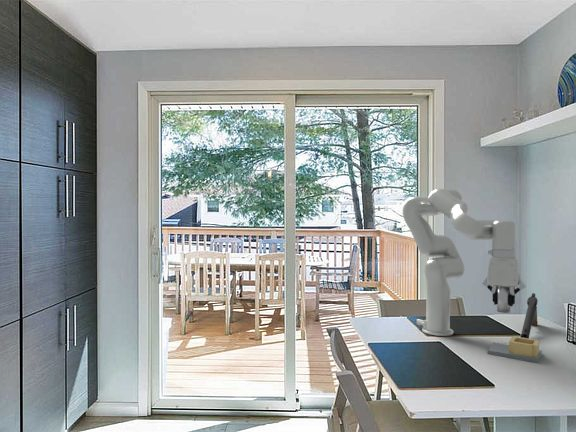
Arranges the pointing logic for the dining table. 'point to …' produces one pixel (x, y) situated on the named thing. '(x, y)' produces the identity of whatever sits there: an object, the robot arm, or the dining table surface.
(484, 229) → the robot arm
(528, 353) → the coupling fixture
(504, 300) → the pipe stub
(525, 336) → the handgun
